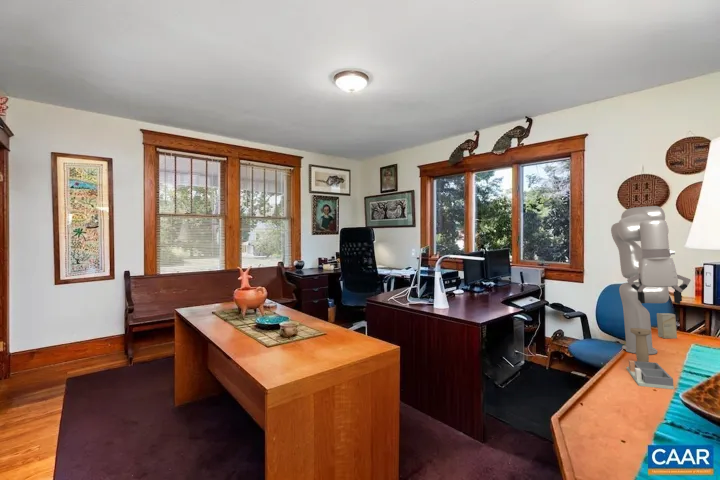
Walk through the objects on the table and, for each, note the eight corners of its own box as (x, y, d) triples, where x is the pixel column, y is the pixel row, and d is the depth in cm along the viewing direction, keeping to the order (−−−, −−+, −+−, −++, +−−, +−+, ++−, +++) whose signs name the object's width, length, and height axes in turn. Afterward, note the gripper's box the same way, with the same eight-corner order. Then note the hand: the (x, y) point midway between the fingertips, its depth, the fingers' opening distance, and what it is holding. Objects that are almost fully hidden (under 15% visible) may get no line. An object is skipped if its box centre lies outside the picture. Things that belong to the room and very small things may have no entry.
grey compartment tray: (626, 369, 137) (625, 357, 138) (657, 371, 133) (656, 360, 133) (638, 385, 121) (637, 372, 122) (674, 389, 117) (672, 376, 117)
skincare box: (663, 338, 175) (661, 314, 176) (657, 336, 180) (655, 313, 180) (677, 338, 174) (675, 314, 175) (671, 336, 179) (669, 312, 179)
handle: (634, 363, 143) (631, 327, 143) (654, 367, 138) (651, 329, 138) (632, 366, 139) (629, 329, 140) (652, 370, 135) (649, 331, 135)
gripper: (683, 253, 122) (687, 302, 121) (622, 255, 129) (626, 301, 128) (692, 253, 115) (696, 305, 114) (628, 255, 122) (632, 304, 122)
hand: (659, 303), depth 121 cm, fingers open, 9 cm apart
